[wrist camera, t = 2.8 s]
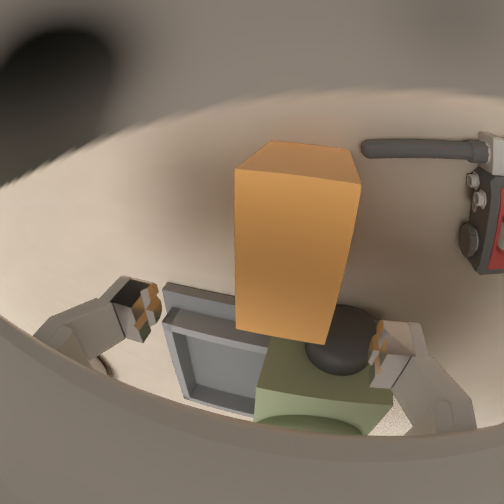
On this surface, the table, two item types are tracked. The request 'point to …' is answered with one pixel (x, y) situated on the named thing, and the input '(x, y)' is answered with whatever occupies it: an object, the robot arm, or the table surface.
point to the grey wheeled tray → (274, 366)
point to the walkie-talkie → (482, 181)
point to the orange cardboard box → (292, 238)
